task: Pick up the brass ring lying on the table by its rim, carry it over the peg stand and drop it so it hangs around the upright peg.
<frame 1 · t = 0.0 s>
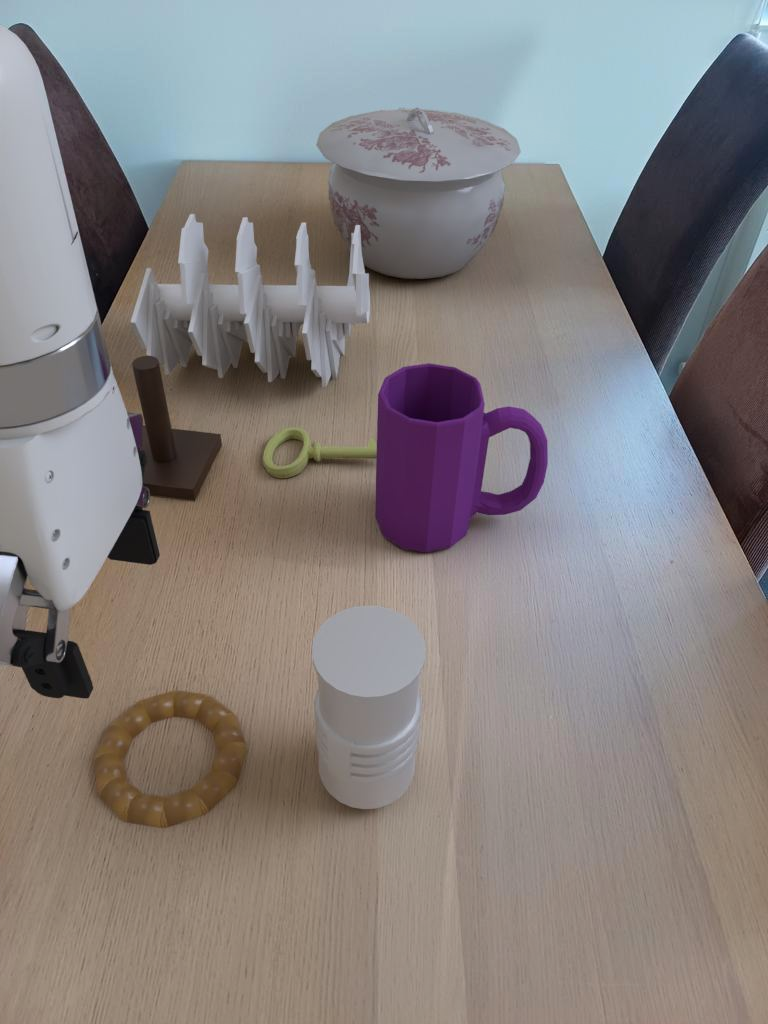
hand: (101, 619, 46), 17 cm above the table, tool pointing down, fingers open, 9 cm apart
spiral staircase: (264, 368, 97), on the table
chamber pot: (413, 259, 120), on the table
ring: (170, 755, 57), point 1 cm above the table
key: (318, 460, 84), on the table
white lidded bottle: (366, 780, 58), on the table
mug: (455, 523, 78), on the table
peg stand: (166, 466, 83), on the table
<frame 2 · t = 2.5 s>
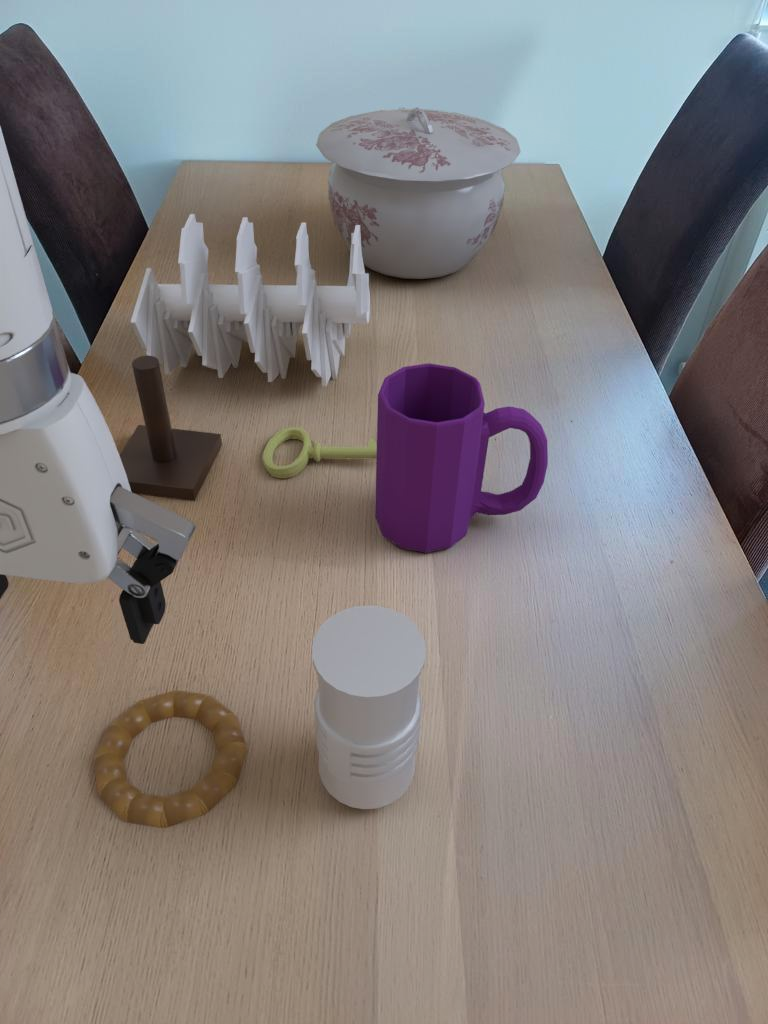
hand: (69, 613, 47), 16 cm above the table, tool pointing down, fingers open, 9 cm apart
nothing on the table moved.
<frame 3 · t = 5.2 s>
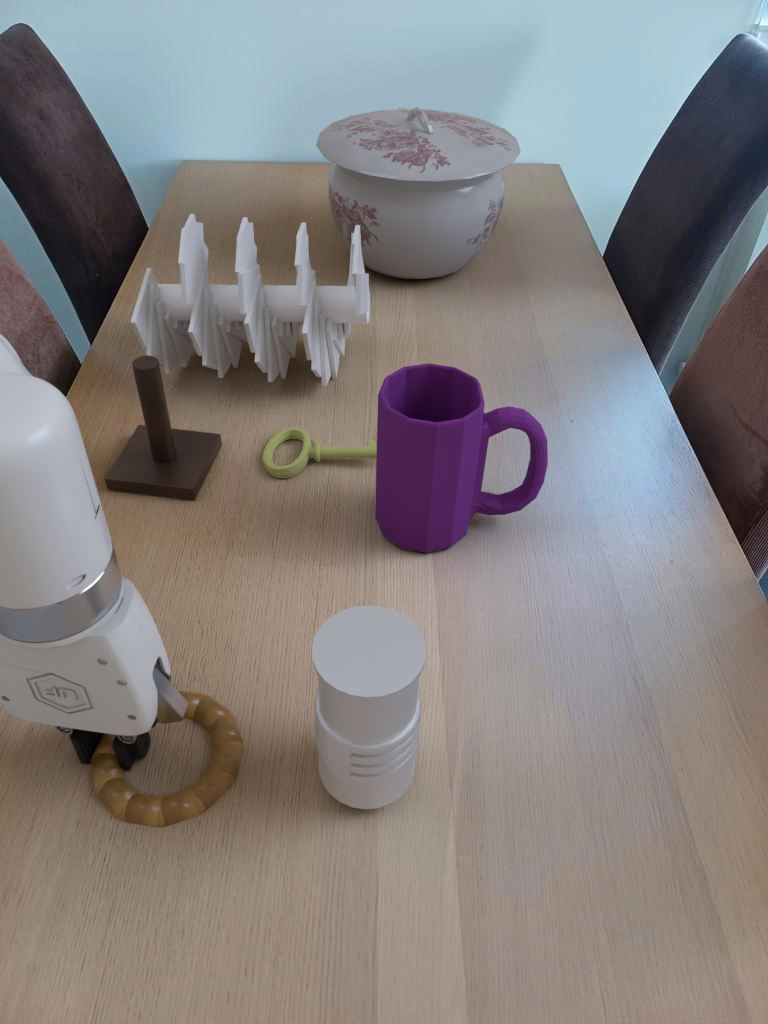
hand: (116, 751, 58), 0 cm above the table, tool pointing down, fingers closed on ring, 2 cm apart
ring: (168, 755, 57), point 1 cm above the table, touching gripper
everything else where it was.
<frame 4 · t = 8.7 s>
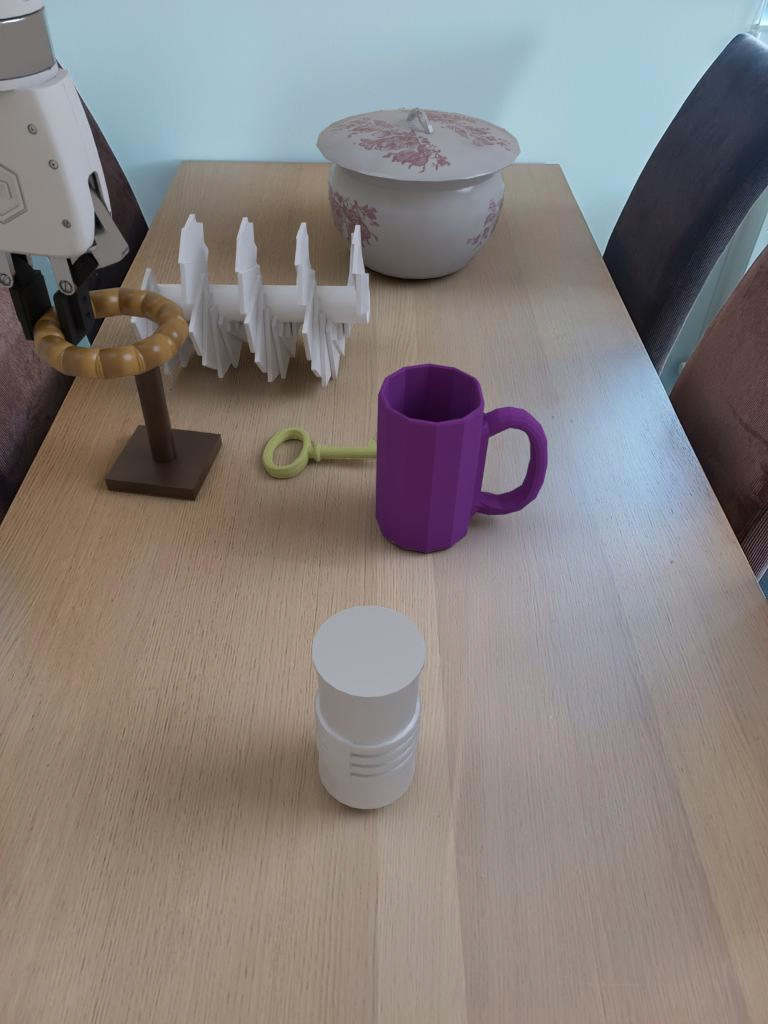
hand: (60, 331, 58), 23 cm above the table, tool pointing down, fingers closed on ring
ring: (112, 331, 57), point 23 cm above the table, touching gripper
everything else where it was.
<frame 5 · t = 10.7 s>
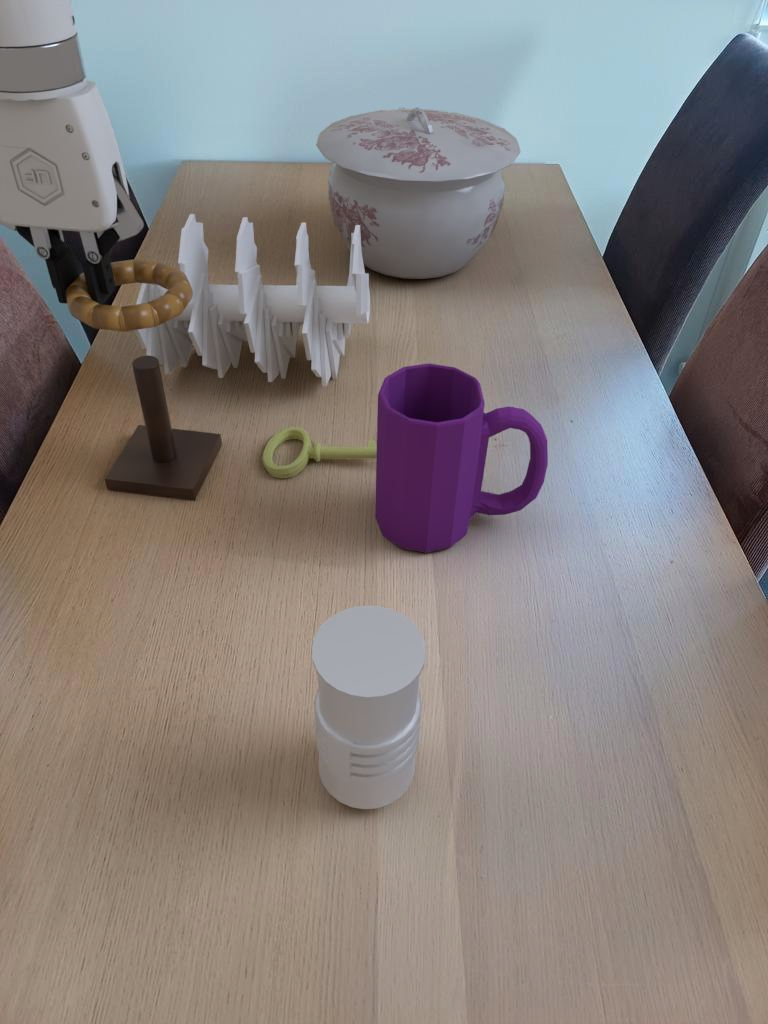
hand: (86, 296, 70), 19 cm above the table, tool pointing down, fingers closed on ring
ring: (129, 294, 70), point 19 cm above the table, touching gripper
everything else where it was.
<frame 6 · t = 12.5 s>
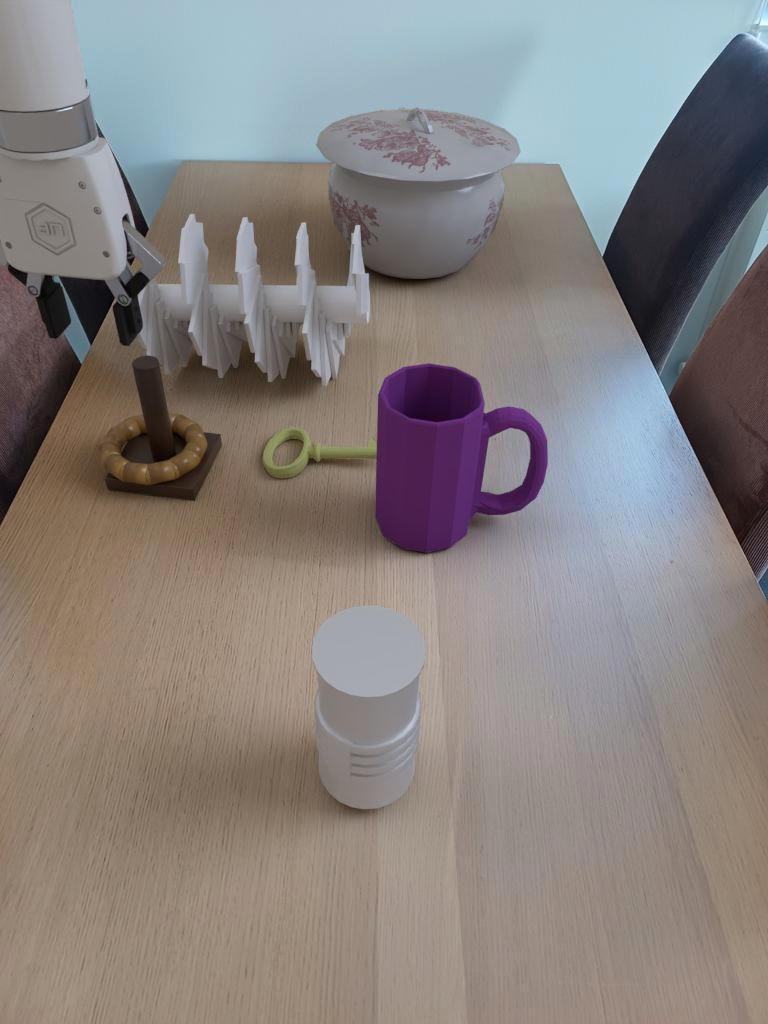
hand: (95, 332, 73), 15 cm above the table, tool pointing down, fingers open, 6 cm apart
ring: (153, 446, 81), point 2 cm above the table, touching peg stand
everything else where it was.
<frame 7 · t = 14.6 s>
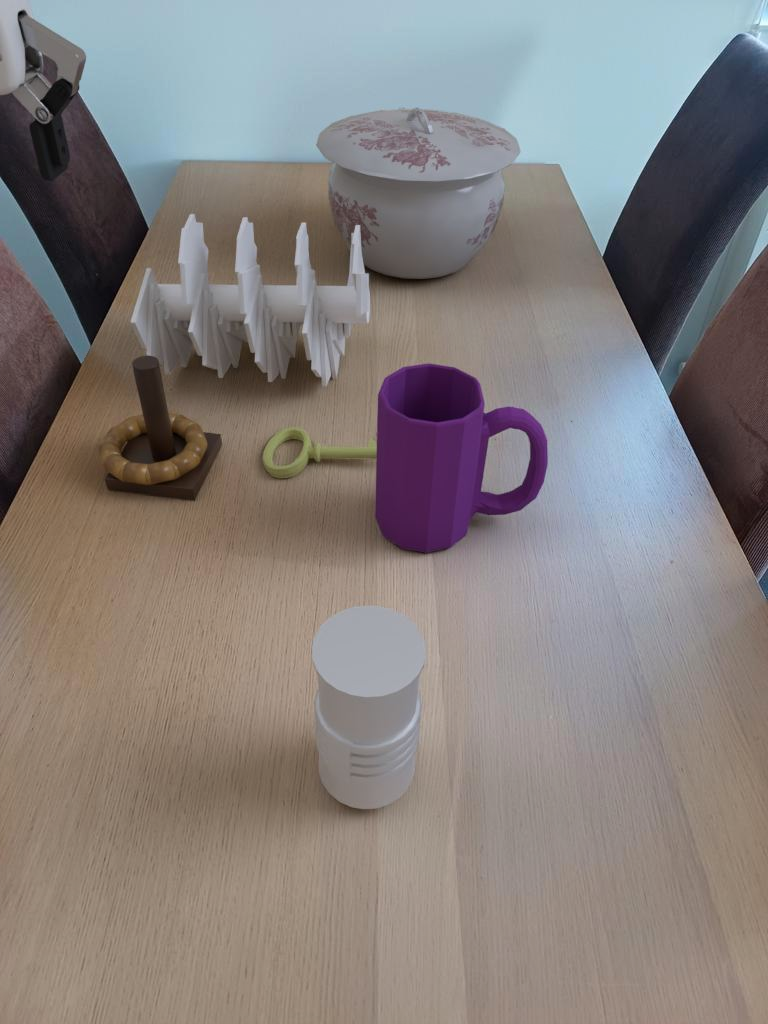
nothing on the table moved.
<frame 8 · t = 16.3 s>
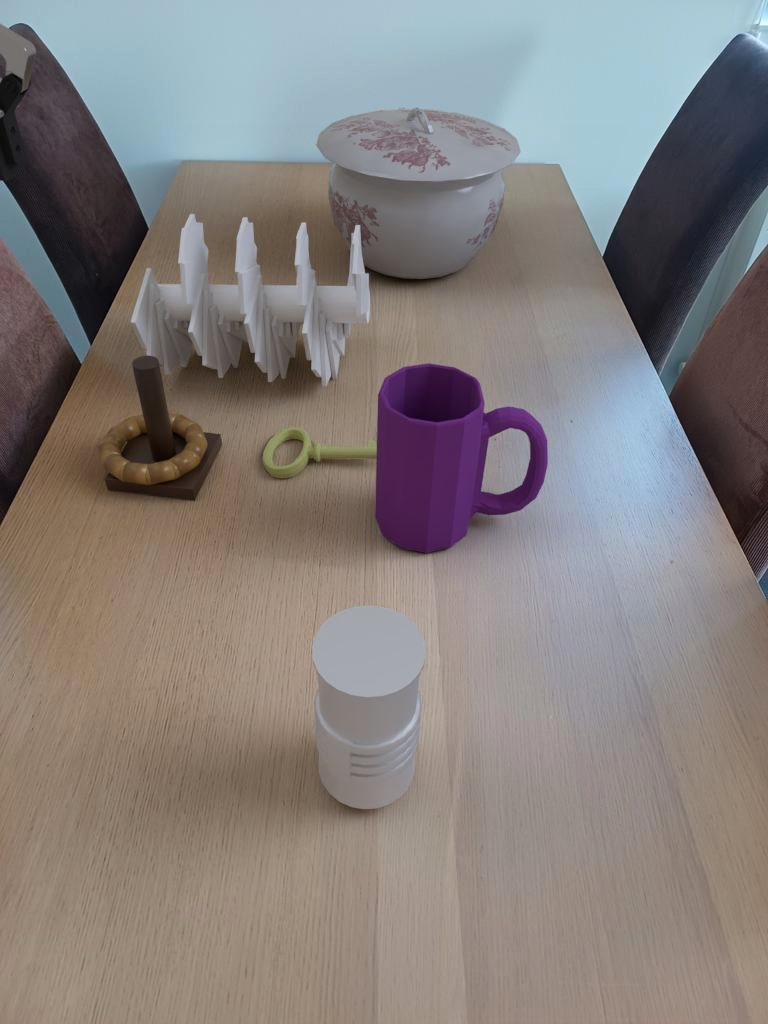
nothing on the table moved.
at the end: ring 1.0 cm from the peg stand (horizontally); ring point 2.5 cm above the table; the gripper is holding nothing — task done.
